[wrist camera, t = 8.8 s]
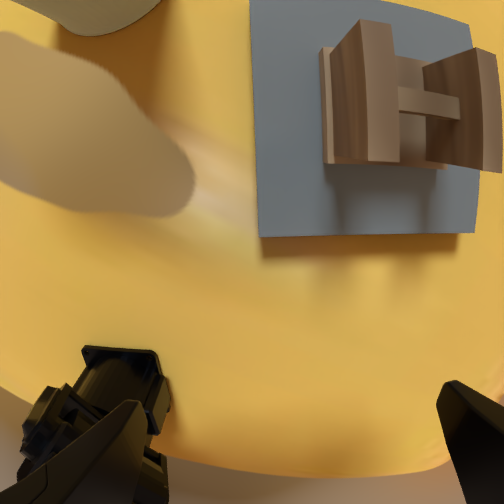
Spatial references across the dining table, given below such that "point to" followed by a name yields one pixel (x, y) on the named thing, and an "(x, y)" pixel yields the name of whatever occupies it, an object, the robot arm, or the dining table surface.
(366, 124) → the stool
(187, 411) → the dining table surface
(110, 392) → the robot arm
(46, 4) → the can
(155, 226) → the dining table surface
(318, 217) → the slab
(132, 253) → the dining table surface
